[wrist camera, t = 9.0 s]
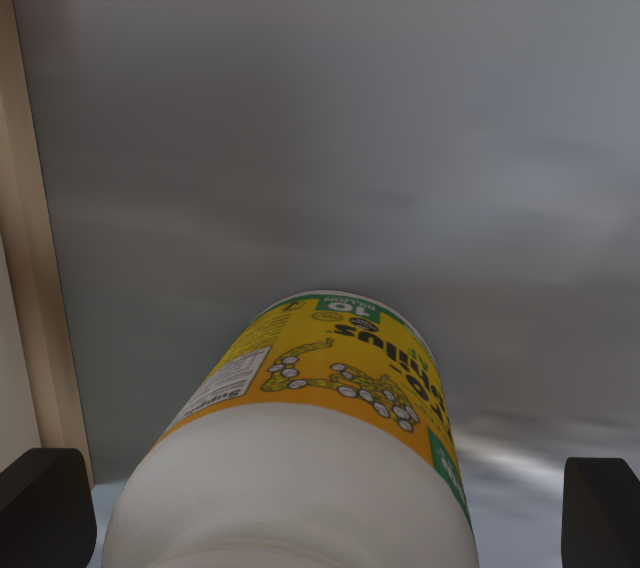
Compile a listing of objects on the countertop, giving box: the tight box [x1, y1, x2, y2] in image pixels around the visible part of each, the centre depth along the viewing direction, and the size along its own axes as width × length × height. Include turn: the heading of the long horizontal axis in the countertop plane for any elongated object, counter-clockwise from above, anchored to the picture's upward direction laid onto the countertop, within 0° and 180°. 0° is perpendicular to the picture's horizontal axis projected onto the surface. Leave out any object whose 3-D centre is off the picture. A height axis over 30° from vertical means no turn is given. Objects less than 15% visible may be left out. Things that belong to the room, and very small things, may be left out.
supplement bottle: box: [101, 290, 480, 568], centre depth 10 cm, size 5×5×10 cm
